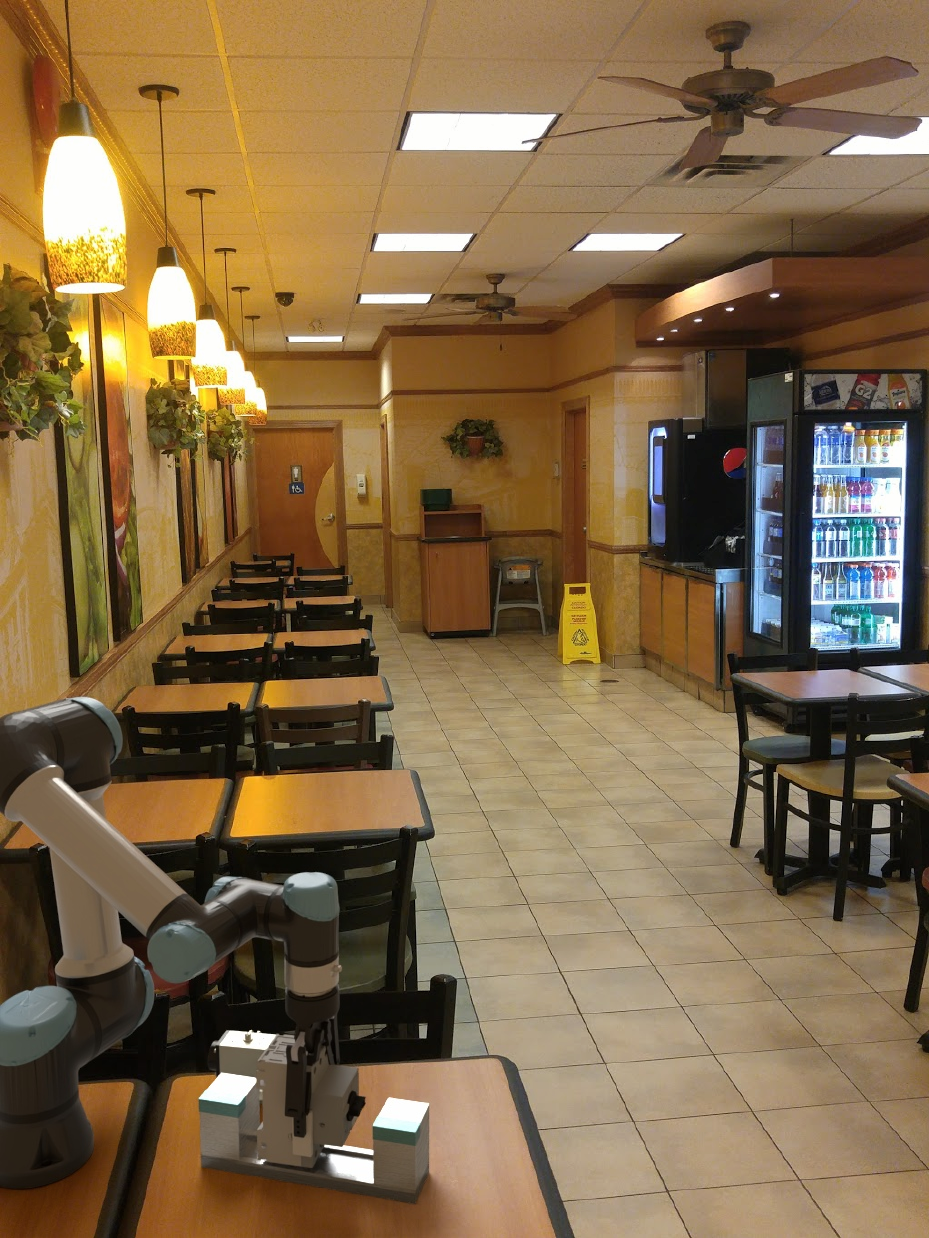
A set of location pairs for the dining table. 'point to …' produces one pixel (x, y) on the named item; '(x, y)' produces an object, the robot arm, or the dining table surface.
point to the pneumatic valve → (238, 1053)
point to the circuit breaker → (329, 1102)
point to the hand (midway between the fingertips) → (313, 1136)
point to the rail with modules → (375, 1173)
